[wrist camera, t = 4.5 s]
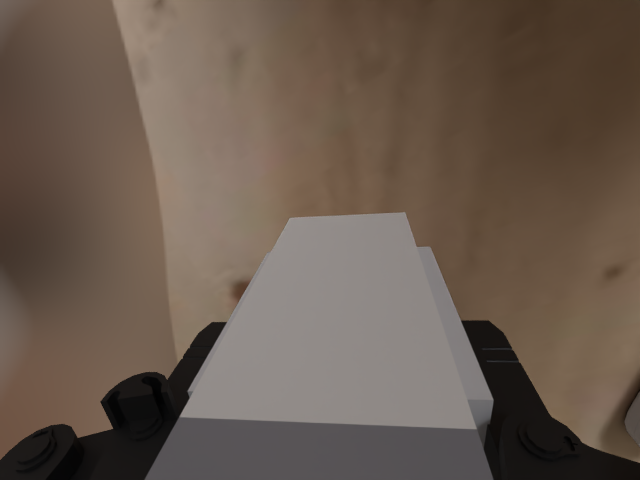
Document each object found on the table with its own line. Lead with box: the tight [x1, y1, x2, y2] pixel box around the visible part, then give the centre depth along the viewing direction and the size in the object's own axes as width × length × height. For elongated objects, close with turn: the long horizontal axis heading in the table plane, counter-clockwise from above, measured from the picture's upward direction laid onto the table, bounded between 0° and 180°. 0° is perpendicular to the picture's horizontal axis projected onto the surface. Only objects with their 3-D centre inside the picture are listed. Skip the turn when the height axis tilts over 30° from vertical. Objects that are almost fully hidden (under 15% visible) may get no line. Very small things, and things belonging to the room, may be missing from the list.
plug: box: [145, 212, 493, 480], centre depth 10 cm, size 4×4×10 cm
